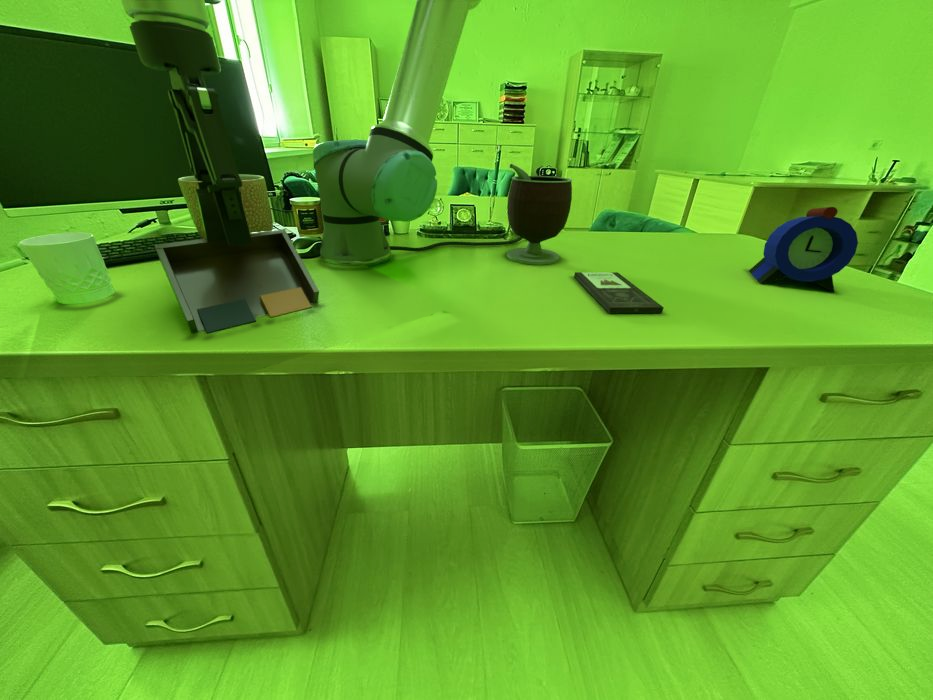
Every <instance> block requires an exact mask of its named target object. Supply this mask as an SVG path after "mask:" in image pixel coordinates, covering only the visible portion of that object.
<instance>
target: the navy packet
mask: <svg viewBox="0 0 933 700" xmlns="http://www.w3.org/2000/svg"><path fill="white" fill-rule="evenodd" d="M197 312H198V315H199V317H200V319H201V321H202V324H203V326H204V328H205V332H206V334H207V335H208V334H211V333H217V332H220V331H225V330H228V329H232V328H236V327H240V326H244V325H247V324H248V325H249V324H252V323H256V317H254V316H253V314H252V312H251V310H250V308H249V306H248V304H247V302H246V300H245V299H243V300H238V301H233V302H229V303H224V304H219V305H215V306H210V307H205V308H200V309H197Z"/></svg>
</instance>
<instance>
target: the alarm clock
mask: <svg viewBox="0 0 933 700" xmlns="http://www.w3.org/2000/svg"><path fill="white" fill-rule="evenodd" d="M838 212H839V211H838V209H837V207H835V206H828V207H827V206H826V207H825V206H824V207H815V208H810V209H808V210H807V212H806V213H805V216H799V217H796V218H793V219H790V220H787V221H786V222H784V223H783V224H781V225H779V226H777V227H776V228H775V229H774V230H773V232H772V233H770V234H769V236H768V238H767V240H766V242H765V243H764V248H763V254H762V255H763V258H761V259H760V260H759V261H758V262H757V263H755V264H754V265H753V266H752V267H751V268H750V269H749V270H748V272H749V273H750V274H751V275H752V277H754V278H755V280H756V281H757V282H758V283H759V284H760V285H761V284H766V283H771V282H776V281H781V280H786V278H788V279H792V280H795V281H799V282H813V283H816V284H817V285H819V286H821V287H823V288H825V289H826V290H828V291H830V292H832V293H835V287H834V286H835V285H834V280H833V276H834V275H836V274H838V273H840V272H841V271H842V270H843V269H845V268H846V267H847V266H848V265H849V264H850V262H851V261H852V259H853V258H854V256H855V255H856V253H857V247H858V245H859V241H858V235H857V231H856V230H855V228H854V227H853V226H852V224H851V223H850V222H848V221H846V220H845V219H843V218H841V217H837V215H838Z"/></svg>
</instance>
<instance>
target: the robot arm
mask: <svg viewBox="0 0 933 700" xmlns="http://www.w3.org/2000/svg"><path fill="white" fill-rule="evenodd" d="M120 1H121V4H122V6H123V9H124V13H125V14H126V15H127V16H129V17H130V18H132V19H134V21H132V22H131V23H130V25H129V31H130V33H131V36H132V39H133V42H134V45H135V48H136V52H137V54H138V57H139V60H140V62H141V63H142V65H144V66H145V67H146V68H148V69H151V70H156V71H164V72H165V71H166V72H167V73H168V74H169V78H170V79H169V80H170V84H171V86H172V87H171V89H167V96H168V98H169V103H170V104H171V105H172V108H173V111H174V115H175V118H176V123H177V125H178V128H179V132H180V133H179V134H180V135H181V139H182V143H183V147H184V150H185V153H186V157H187V160H188V165H189V171H190V172H191V174H192V176H194V177H195V179H196V180H197V181H201V182H197V183H198V186H199V189H208V191H209V193H210V192H213V194H214V198H215V201H216V204H217V208H218V211H219V215H220V218H221V221H222V225H223V228H224V232H225V235H226V239H227V242H228V245H229V246H234V245H242V244H249V243H252V240H251V236H250V232H249V228H248V224H247V220H246V216H245V213H244V209H243V205H242V201H241V197H240V193H239V187H242V180H241V179H240V176H239V174H240V172H239V170H238V166H237V163H236V160H235V157H234V156H235V155H234V153H233V150H232V146H231V143H230V140H229V136H228V133H227V130H226V127H225V123H224V120H223V116H222V113H221V108H220V103H219V100H218V97H219V96H218V93H217V91H216V89H215V88H214V87H209V86H207V85H206V82H205V79H204V75H205V76H209V75H211V76H212V75H213V76H215V75H218V74H220V73H221V70H222V69H221V63H220V60H219V56H218V52H217V48H216V43H215V40H214V37H213V36H211V34H210V33H209V32H207V31H206V30H207V29H208V28H209V27H210V26H211V21H210V18H209V14H208V13H209V12H208V9H207V6H209V5H218V4H220V3H221V2H222V1H223V0H120ZM481 1H482V0H416V3H415V7H414V10H413V13H412V17H411V21H410V25H409V28H408V32H407V34H406V38H405V42H404V45H403V49H402V53H401V56H400V60H399V63H398V67H397V70H396V73H395V76H394V79H393V83H392V88H391V91H390V95H389V98H388V102H387V105H386V109H385V112H384V115H383V119H382V121H381V122H379V123H377V124H374V125H373V126H371V128H370V132H369V135H368V139H340V140H339V139H338V140H329V141H323V142H319V143H316V144H315V145H314V147H313V149H312V159H313V164H312V165H313V169H314V172H315V179H316V185H317V190H318V195H319V201H320V207H321V208H320V209H321V214H322V218H323V219H322V220H323V229H322V237H321V242H320V251H319V255H320V260H321V261H323V262H324V263H326V264H331V265H335V266H348V267H349V266H350V267H351V266H352V267H353V266H366V267H368V268H371V267H376V266H380V265H383V264H385V263H388V262H389V261H390V260H392V251H403V252H404V251H405V252H415V253H416V252H425V251H429V250H432V249H435V248H439V247H444V246H469V247H489V246H491V247H493V246H494V247H495V246H507V245H513V244H514V245H515V244H516V243H518V242H520V241H522V240H524V239H523V238H522V237H520V236H517V238H515V239H511V240H504V241H502V240H501V241H440V242H436V243H432V244H429V245H425V246H422V247H421V246H419V247H410V246H399V245H398V246H397V245H390V244H389V242H388V238H387V236H386V233H385V232H384V229H383V226H382V225H381V218H382V219H385V220H387V221H389V222H405V223H406V222H407V223H408V222H413V221H415V220H417V219H419V218H421V217H422V216H424V215H425V214H426V213H427V212H428V210H429V209H430V208H431V206H432V205H433V203H434V200H435V198H436V194H437V191H438V190H437V189H438V179H436V176H437V170H436V168H435V165H434V164H433V160H434V152H433V150H432V148H431V146H430V140H431V136H432V133H433V130H434V126H435V123H436V119H437V115H438V114H439V110H440V107H441V104H442V100H443V97H444V93H445V89H446V86H447V84H448V80H449V77H450V73H451V71H452V67H453V64H454V60H455V57H456V54H457V50H458V47H459V44H460V40H461V38H462V34H463V31H464V27H465V23H466V21H467V17H468V13H469V11H472V10H474V9H475V8H477V7H478V6H479V4H480V3H481Z"/></svg>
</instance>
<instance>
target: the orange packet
mask: <svg viewBox="0 0 933 700" xmlns="http://www.w3.org/2000/svg"><path fill="white" fill-rule="evenodd" d="M260 301H261V303H262V305H263V307H264V309H265V311H266V313H267V314H266V315H267V316H268V317H269V318H271V319H272V318H276V317H281V316H284V315H288V314H292V313H297V312H300V311H304V310H308V309H311V308H312V305H311V304H310V303H309V301H308V299H307V298H306V296H305V294H304V292H303V290H302V288H301V287H299V288H294V289H289V290H285V291H280V292H275V293H271V294H266V295H261V296H260Z"/></svg>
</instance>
